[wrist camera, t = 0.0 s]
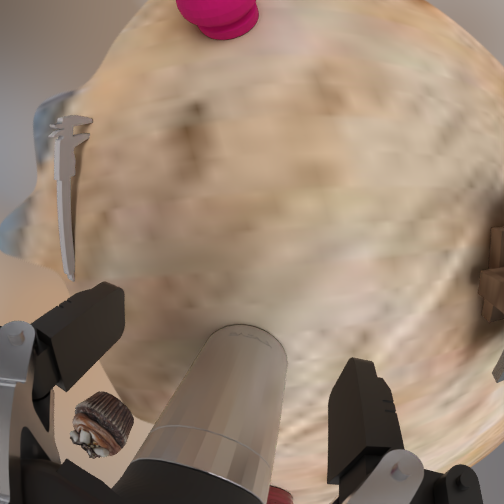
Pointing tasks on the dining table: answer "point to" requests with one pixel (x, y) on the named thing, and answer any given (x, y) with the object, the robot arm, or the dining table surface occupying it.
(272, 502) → the canister
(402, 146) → the dining table surface
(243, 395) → the robot arm
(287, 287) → the dining table surface
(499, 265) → the stand
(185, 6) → the pepper mill
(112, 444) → the cupcake
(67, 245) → the caliper
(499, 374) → the brushed metal stamp
